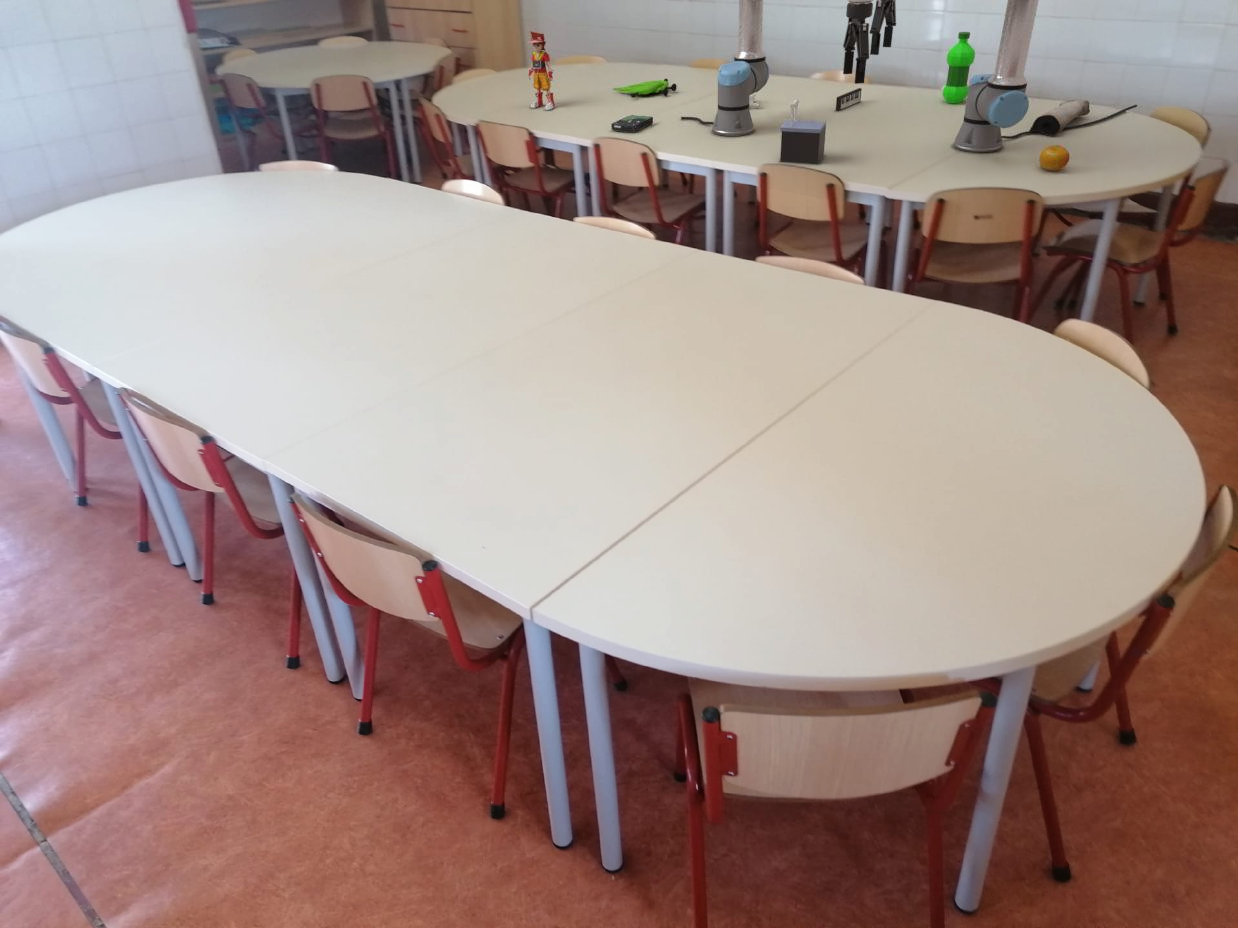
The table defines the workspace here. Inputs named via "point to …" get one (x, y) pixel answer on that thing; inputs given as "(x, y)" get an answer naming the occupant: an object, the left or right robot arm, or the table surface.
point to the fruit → (1054, 157)
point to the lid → (801, 123)
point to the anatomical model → (751, 99)
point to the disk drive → (632, 123)
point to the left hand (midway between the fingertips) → (880, 51)
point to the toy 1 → (541, 71)
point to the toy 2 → (648, 88)
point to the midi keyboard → (848, 99)
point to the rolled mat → (1060, 117)
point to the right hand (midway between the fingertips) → (853, 78)
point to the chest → (802, 147)
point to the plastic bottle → (958, 69)
